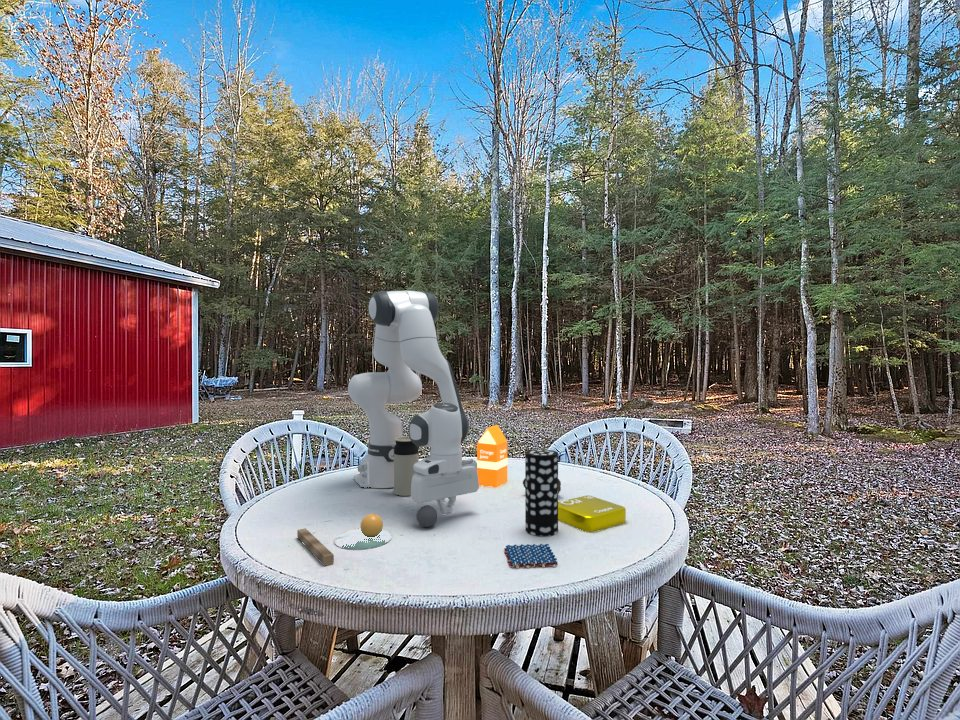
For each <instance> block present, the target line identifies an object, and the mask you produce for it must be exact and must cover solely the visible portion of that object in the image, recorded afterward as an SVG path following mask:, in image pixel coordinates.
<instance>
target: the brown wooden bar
mask: <svg viewBox="0 0 960 720" xmlns="http://www.w3.org/2000/svg"><path fill="white" fill-rule="evenodd" d="M296 535H297V537H298V538H299V539H300V540H301V541H302V542H303V543H304V544H305V545H304V544H303V543H302V542H301V541H300V540H299V539H298V538H297V537H296V538H297V539H298V540H299V541H300V542H301V543H302V544H303V545H304V546H306V547H307V548H308V549H309V550H310V551H311V552H312V553H313V554H314V555H315V556H316V557H317V558H318V559H319V560H320V561H321V562H322V563H323V564H324V565H323V564H322V563H321V562H320V561H319V560H318V559H317V558H316V557H315V556H314V555H313V554H312V553H311V552H310V551H309V550H308V549H307V548H306V549H307V550H308V551H309V552H310V553H311V554H312V555H313V556H314V557H315V558H316V559H317V560H318V561H319V562H320V563H321V564H322V565H323V567H326V566H325V565H327V566H330V565H329V564H331V565H334V564H335V563H334V562H335V558H334V557H335V555H334V553H332V551H331V550H330V549H328V548H327V547H326V545H324V544H323V543H322V542H321V541H320V540H318V538H317V537H315V536H314V535H313V534H312V533H311V532H310V531H309V530H308V529H307V528H301V529H297V534H296ZM333 563H334V564H333Z"/></svg>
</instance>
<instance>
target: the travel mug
mask: <svg viewBox="0 0 960 720" xmlns="http://www.w3.org/2000/svg"><path fill="white" fill-rule="evenodd" d="M395 441H396V445H395V447H394V487H393V494H394V495H396V496H398V495H399V496H400V497H411V482H412V477H413V475H414V474H415V473H416V472H415V471H414V470H413V466H414V464H415V463H417V462H419V461H420V458H419V457H420V455H419V454H420V453H419V452H420V451H419V449H420V448H419V446H416V445H415V444H414V443H413V442H412V441H411V440H410V438H409V435H408V436H407V435H402V437H397V438H395Z"/></svg>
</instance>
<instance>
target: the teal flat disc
mask: <svg viewBox="0 0 960 720" xmlns="http://www.w3.org/2000/svg"><path fill="white" fill-rule="evenodd" d="M379 536H380V535H379ZM379 536H378V537H379ZM378 537H377V538H378ZM379 538H380V537H379ZM369 539H370V538H369ZM369 539H368V543H367V541H366V543H365V541H364V542H363V541H362V542H361V541H360V542H359V541H358V542H357V543H356V544H355V546H354V544H353V546H354V547H353V546H352V547H351V545H352V544H351V545H350V546H349V545H348V546H347V544H346V546H347V547H346V546H345V547H344V545H343V546H342V548H341V549H343V547H344V548H346V549H345V550H349V549H364V550H369V549H368V548H371V549H374V547H375V548H378V547H377V546H379V547H381V546H380V545H382V546H384V545H386V544H388V543H387V542H386V544H385V540H384V541H383V540H382V542H381V541H380V542H379V541H378V542H377V541H373V539H372V538H371V539H372V540H371V539H370V540H369ZM364 540H365V539H364ZM366 540H367V539H366ZM374 540H375V539H374ZM376 540H377V539H376ZM378 540H379V539H378ZM380 540H381V539H380ZM369 541H370V542H369ZM383 544H384V545H383ZM348 547H349V548H348Z"/></svg>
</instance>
